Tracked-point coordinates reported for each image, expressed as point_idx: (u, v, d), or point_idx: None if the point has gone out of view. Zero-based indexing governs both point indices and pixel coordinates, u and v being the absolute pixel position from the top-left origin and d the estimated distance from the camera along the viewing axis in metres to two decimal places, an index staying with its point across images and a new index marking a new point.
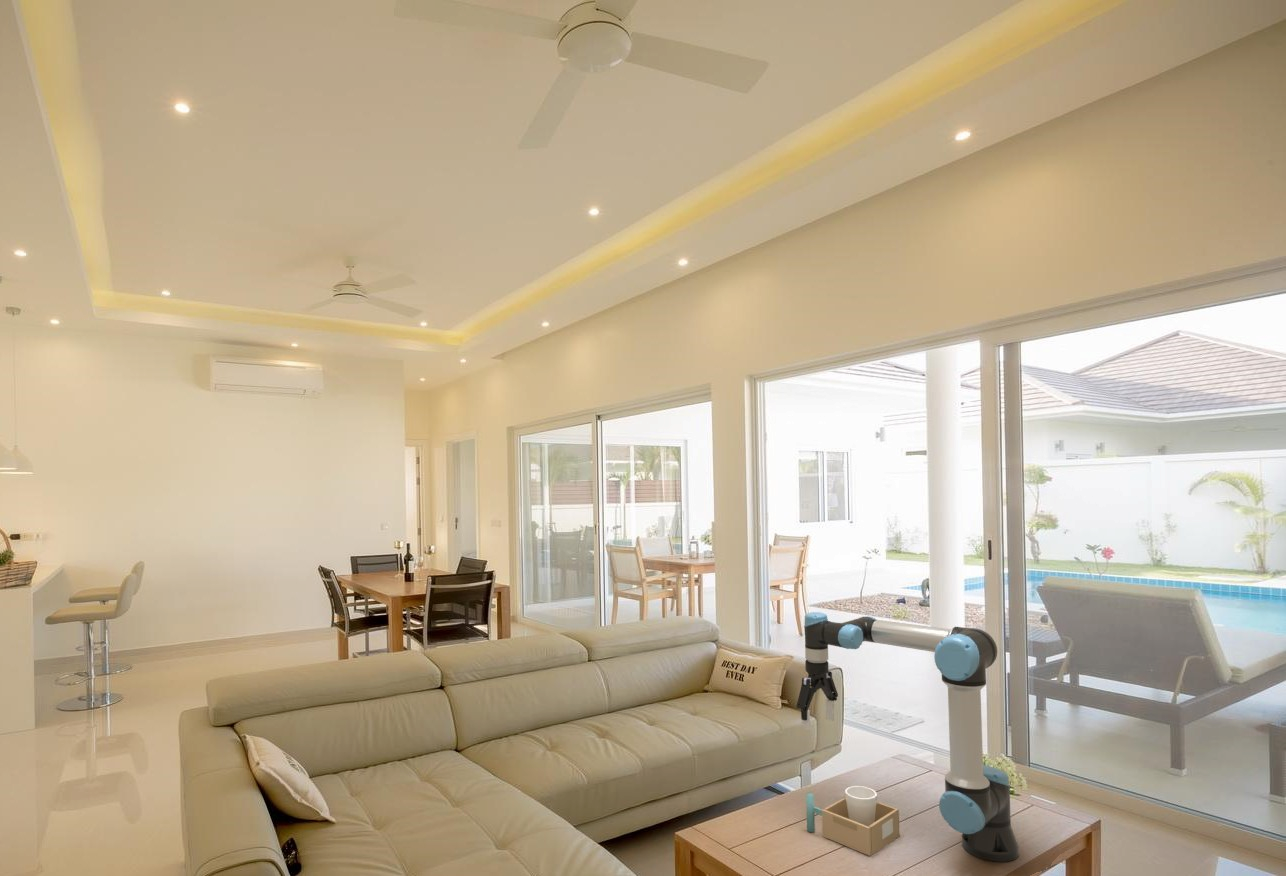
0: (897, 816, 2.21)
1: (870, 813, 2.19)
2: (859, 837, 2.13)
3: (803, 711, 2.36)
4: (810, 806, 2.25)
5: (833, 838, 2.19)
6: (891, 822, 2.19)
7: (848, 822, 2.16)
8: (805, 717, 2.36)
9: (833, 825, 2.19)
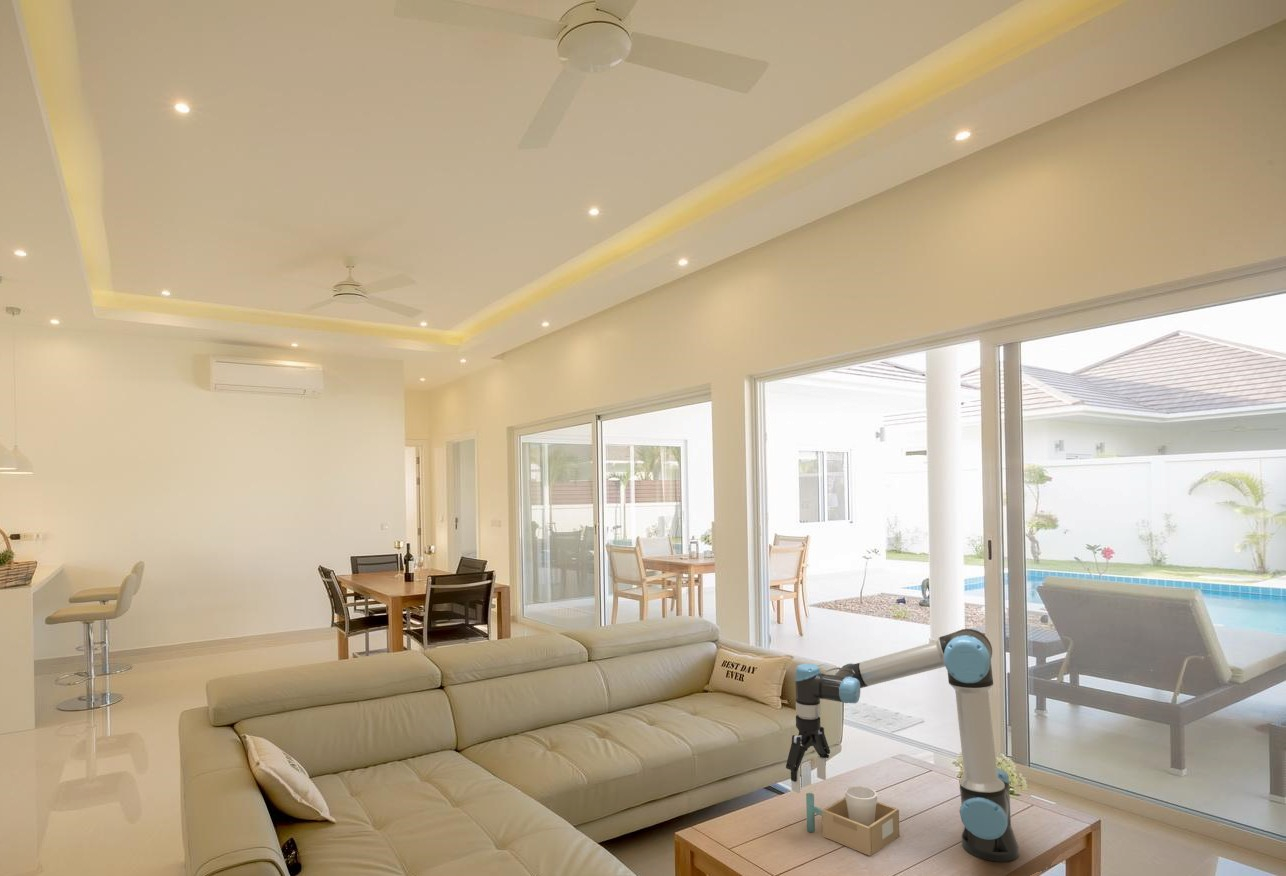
0: (897, 816, 2.21)
1: (870, 813, 2.19)
2: (859, 837, 2.13)
3: (793, 772, 2.21)
4: (810, 806, 2.25)
5: (833, 838, 2.19)
6: (891, 822, 2.19)
7: (848, 822, 2.16)
8: (795, 778, 2.21)
9: (833, 825, 2.19)
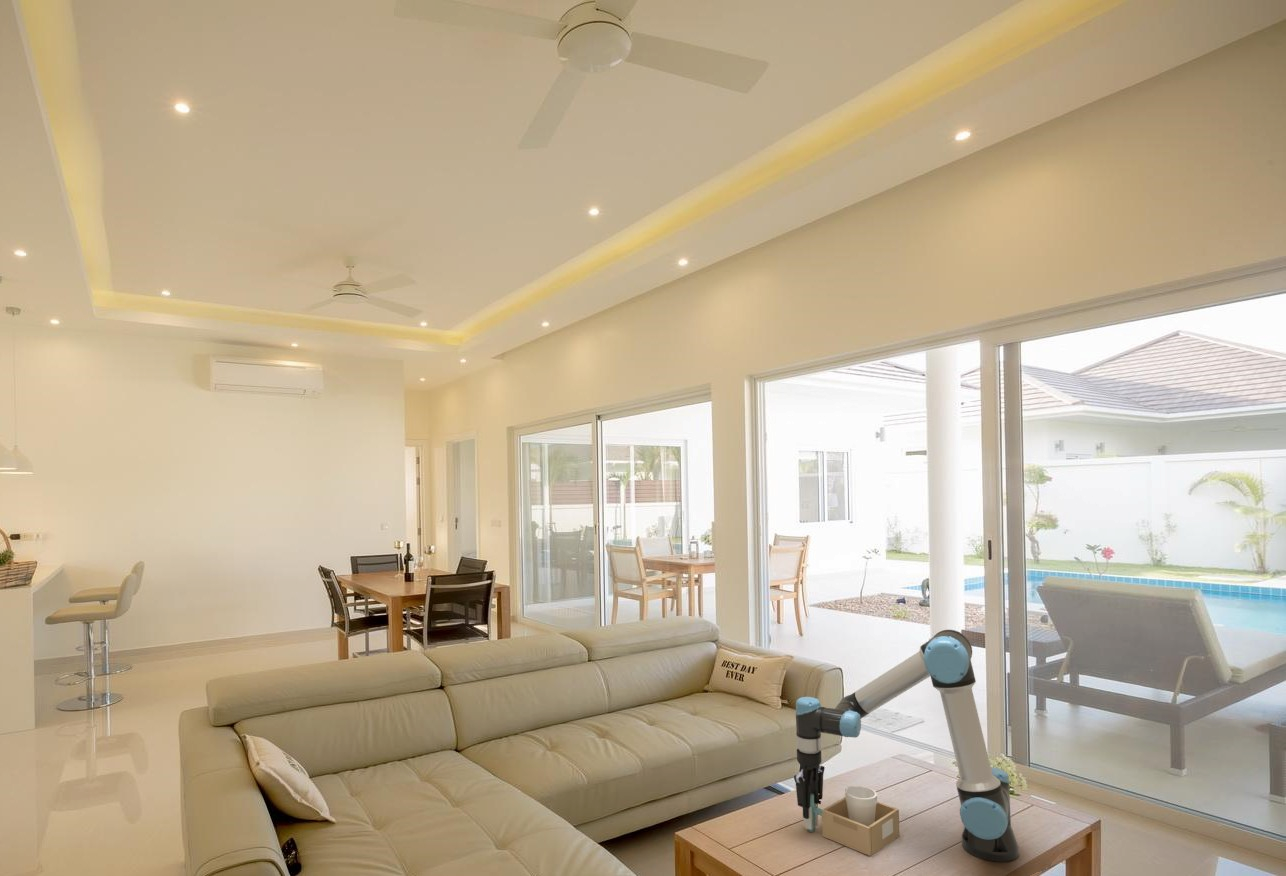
0: (897, 816, 2.21)
1: (870, 813, 2.19)
2: (859, 837, 2.13)
3: (805, 809, 2.24)
4: (810, 806, 2.25)
5: (833, 838, 2.19)
6: (891, 822, 2.19)
7: (848, 822, 2.16)
8: (807, 815, 2.24)
9: (833, 825, 2.19)
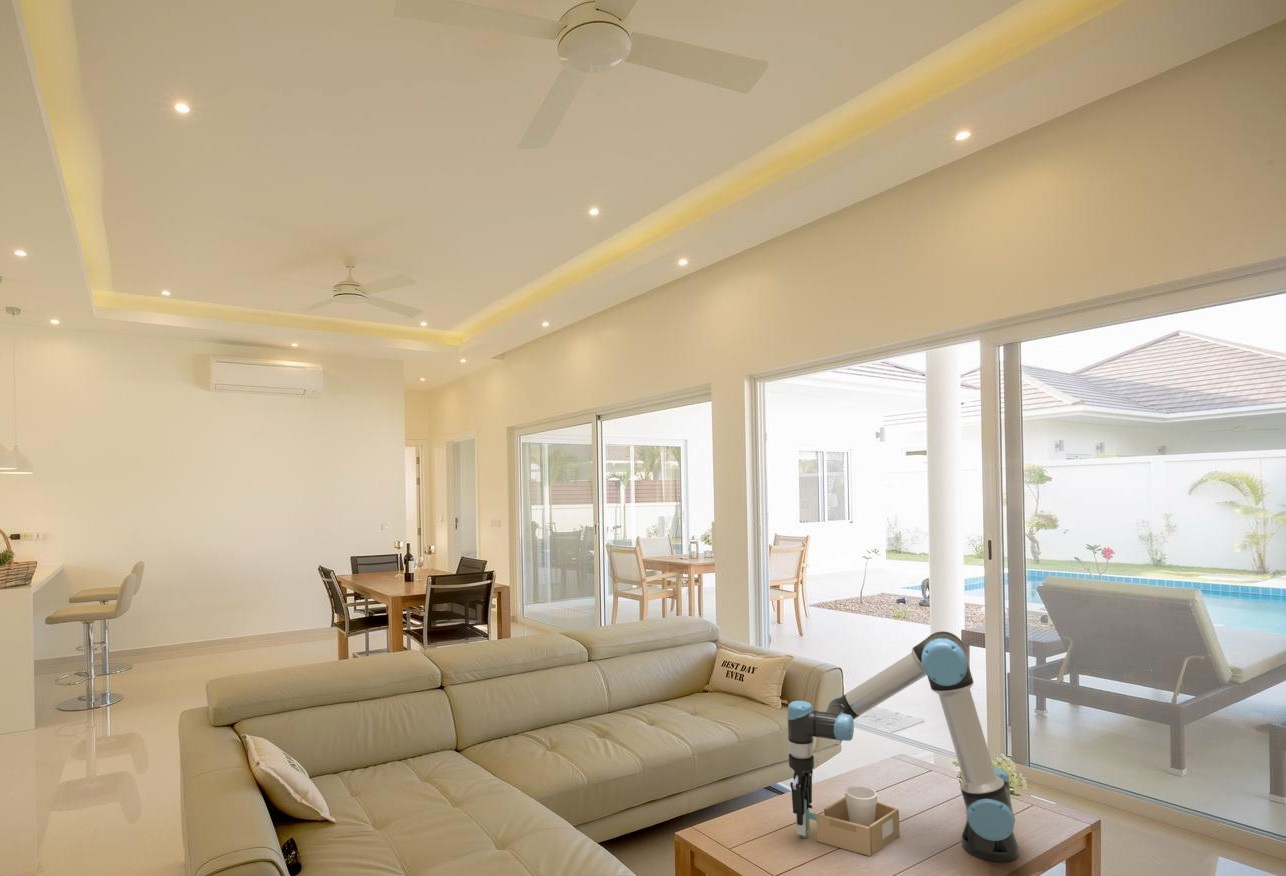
0: (897, 816, 2.21)
1: (870, 813, 2.19)
2: (858, 838, 2.12)
3: (799, 815, 2.20)
4: None
5: (829, 842, 2.17)
6: (891, 822, 2.19)
7: (845, 825, 2.14)
8: (801, 822, 2.20)
9: (829, 829, 2.17)
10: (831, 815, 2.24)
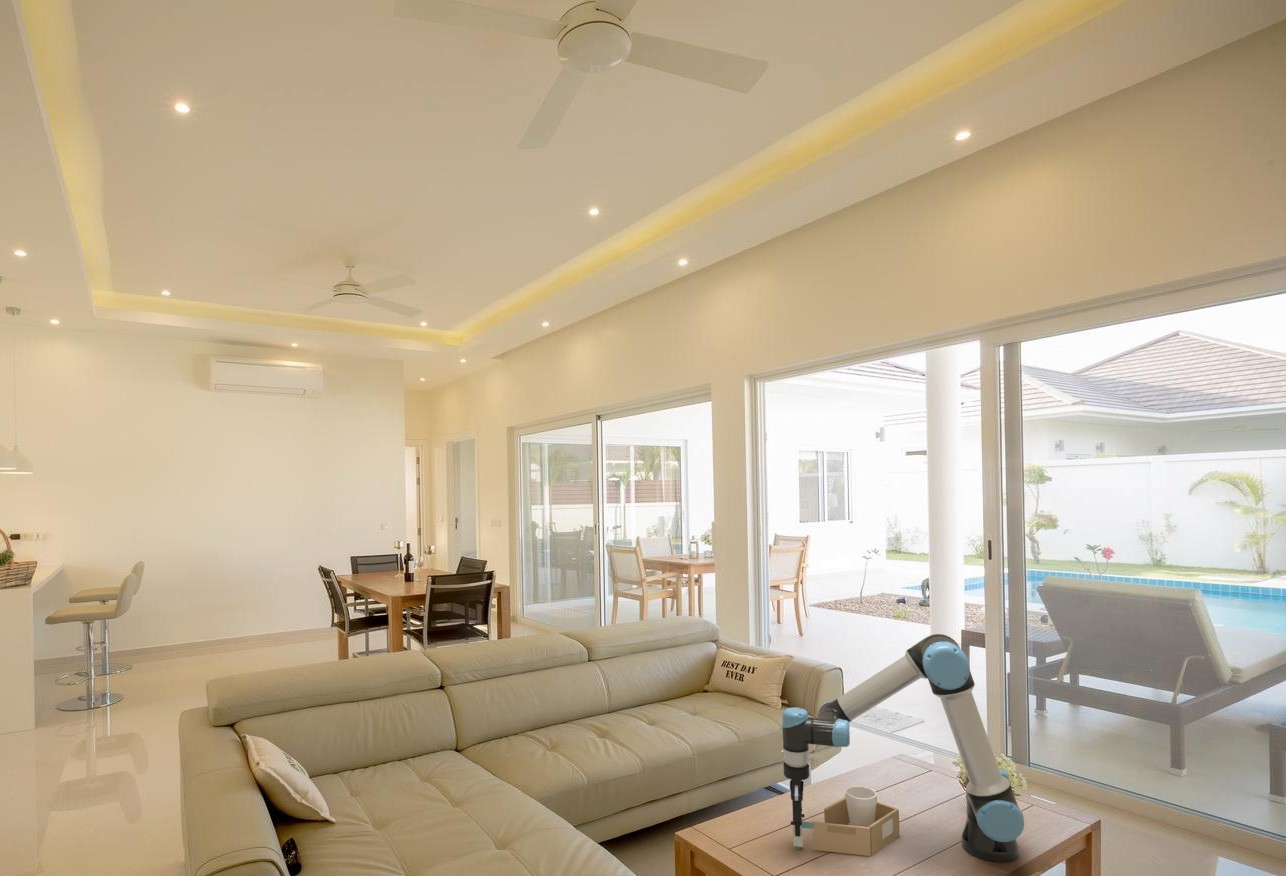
0: (897, 816, 2.21)
1: (870, 813, 2.19)
2: (858, 840, 2.11)
3: (798, 826, 2.13)
4: None
5: (827, 849, 2.13)
6: (891, 822, 2.19)
7: (845, 828, 2.12)
8: (800, 833, 2.13)
9: (826, 836, 2.13)
10: (831, 815, 2.24)
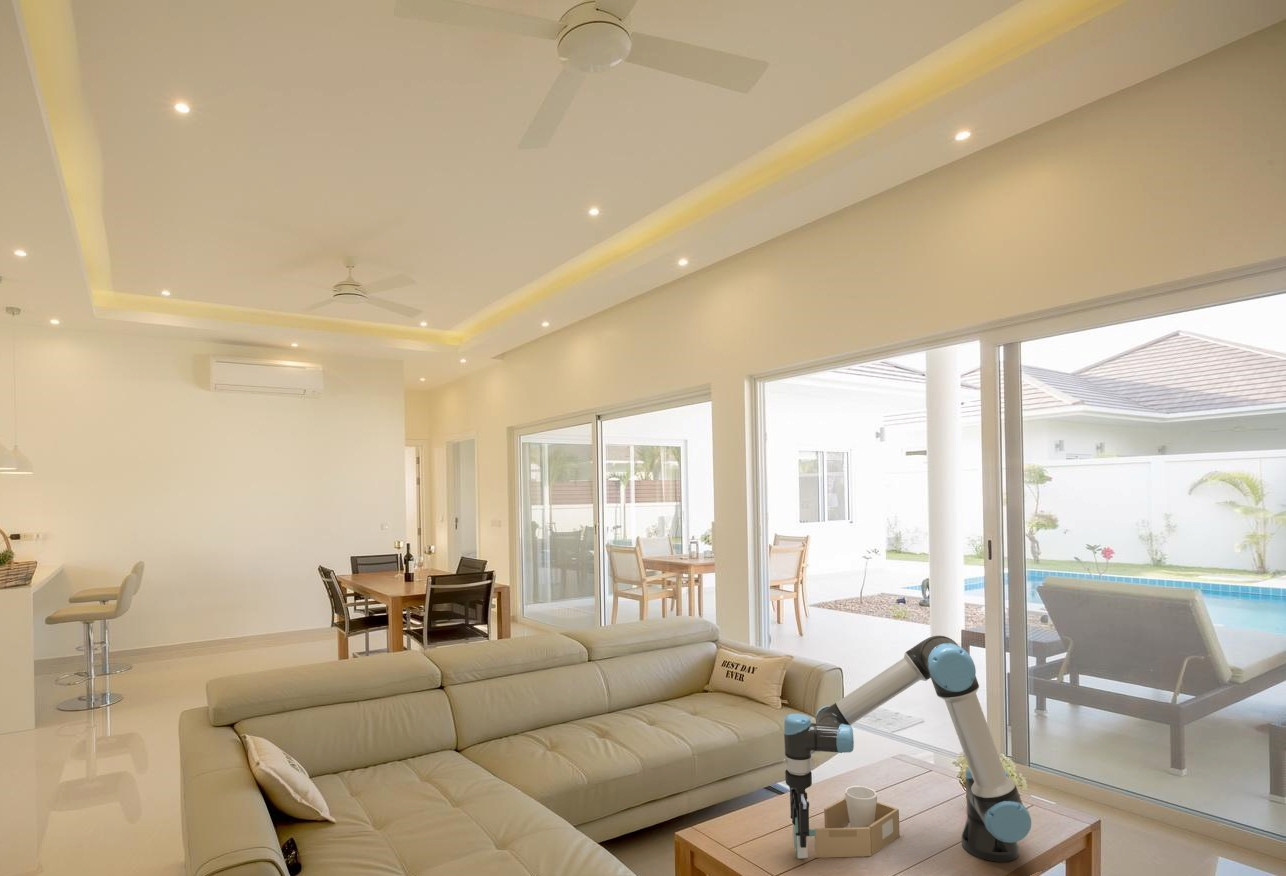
0: (897, 816, 2.21)
1: (870, 813, 2.19)
2: (859, 841, 2.10)
3: (804, 837, 2.06)
4: None
5: (829, 854, 2.10)
6: (891, 822, 2.19)
7: (846, 831, 2.10)
8: (805, 843, 2.06)
9: (828, 841, 2.10)
10: (831, 815, 2.24)
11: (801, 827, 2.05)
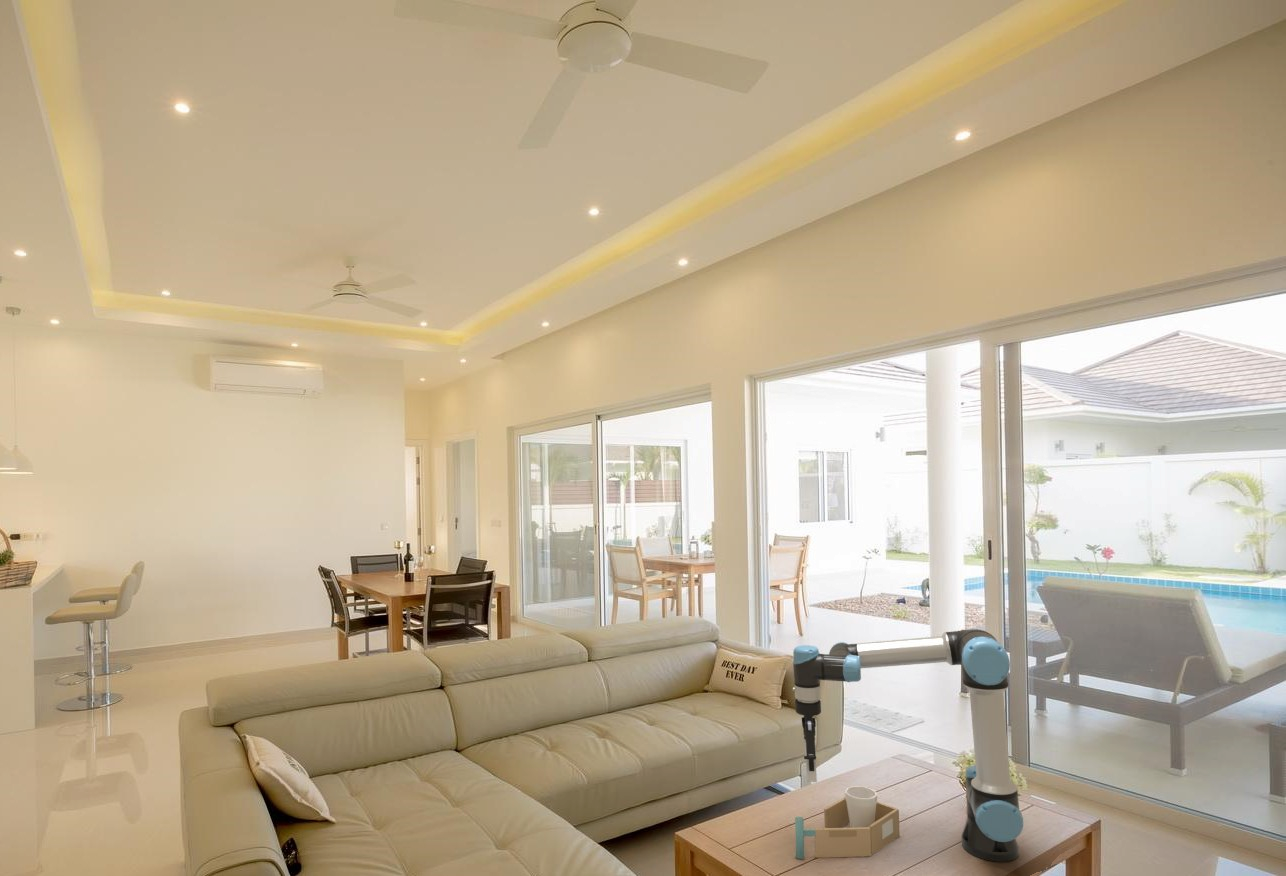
0: (897, 816, 2.21)
1: (870, 813, 2.19)
2: (859, 841, 2.10)
3: (812, 761, 2.08)
4: (802, 831, 2.10)
5: (829, 854, 2.10)
6: (891, 822, 2.19)
7: (846, 831, 2.10)
8: (813, 767, 2.08)
9: (828, 841, 2.10)
10: (831, 815, 2.24)
11: (807, 748, 2.08)
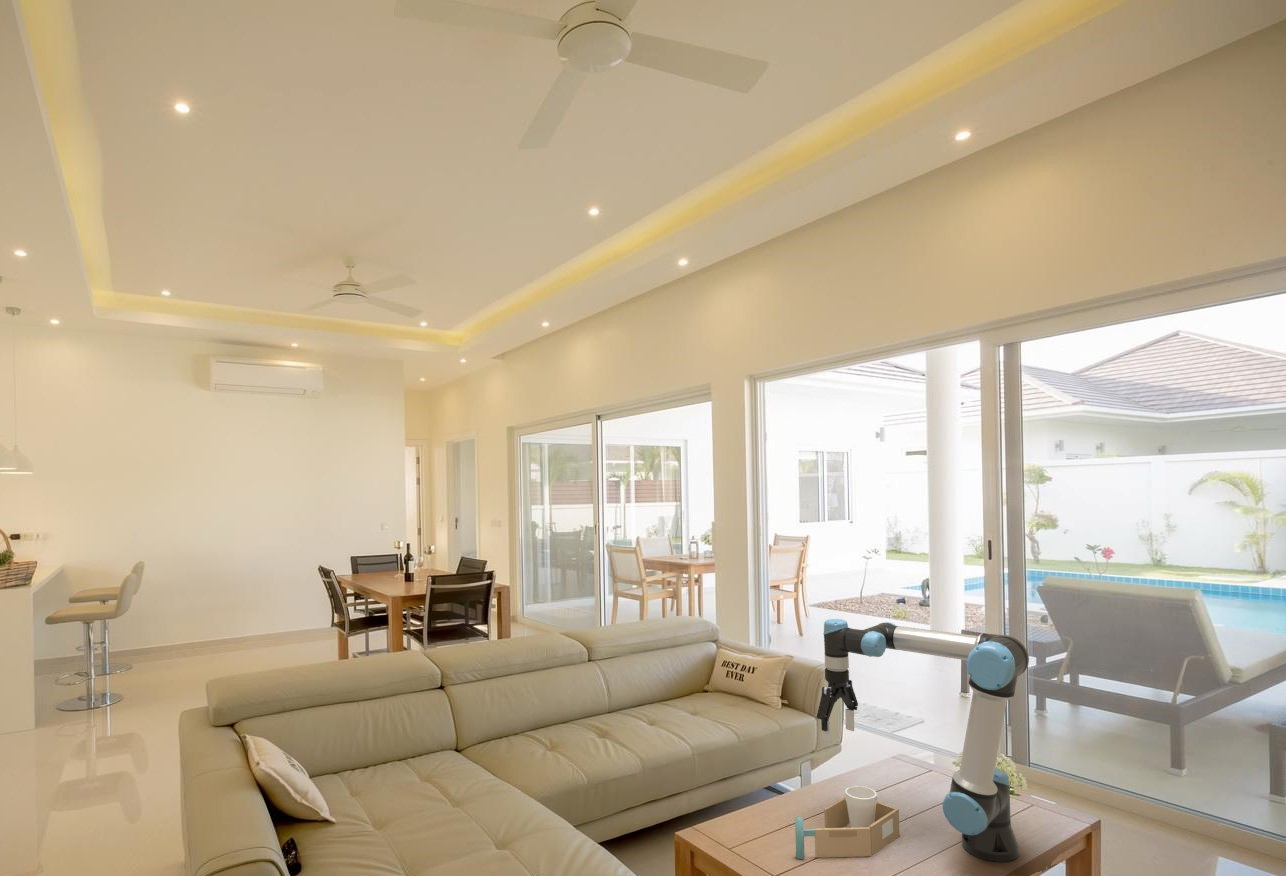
0: (897, 816, 2.21)
1: (870, 813, 2.19)
2: (859, 841, 2.10)
3: (823, 721, 2.28)
4: (802, 831, 2.10)
5: (829, 854, 2.10)
6: (891, 822, 2.19)
7: (846, 831, 2.10)
8: (826, 728, 2.28)
9: (828, 841, 2.10)
10: (831, 815, 2.24)
11: (819, 709, 2.29)
